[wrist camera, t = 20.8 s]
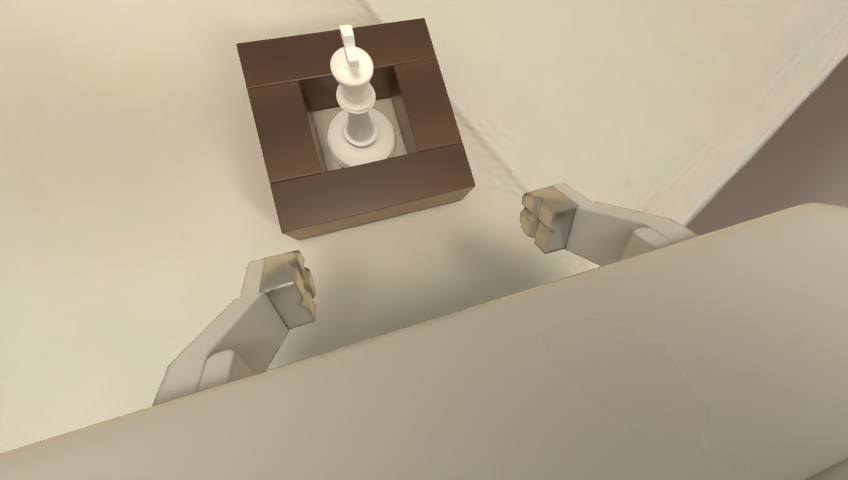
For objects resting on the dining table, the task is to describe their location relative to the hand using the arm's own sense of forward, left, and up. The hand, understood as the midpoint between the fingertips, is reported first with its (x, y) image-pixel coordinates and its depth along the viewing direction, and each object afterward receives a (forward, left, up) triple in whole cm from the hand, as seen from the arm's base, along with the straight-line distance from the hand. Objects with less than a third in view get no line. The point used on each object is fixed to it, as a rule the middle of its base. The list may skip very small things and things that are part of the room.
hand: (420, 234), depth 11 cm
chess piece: (+7, -5, -11) cm, 14 cm away
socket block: (+7, -5, -11) cm, 14 cm away
